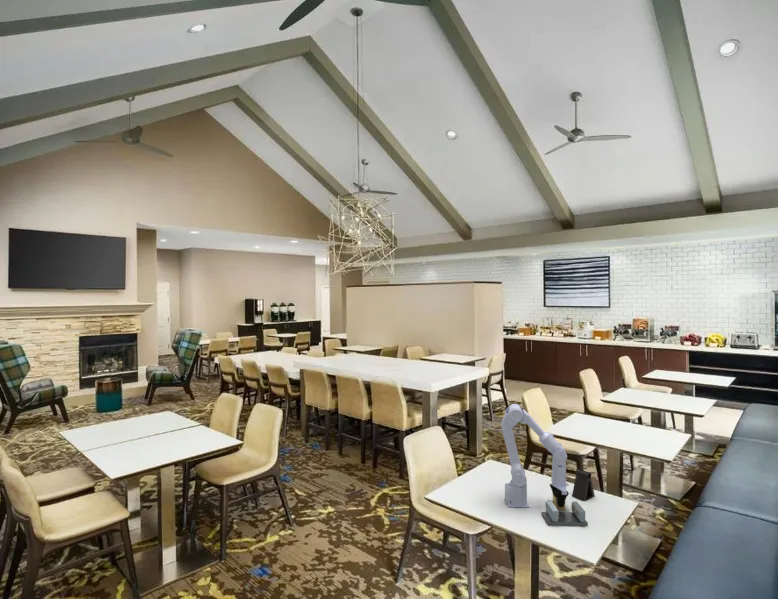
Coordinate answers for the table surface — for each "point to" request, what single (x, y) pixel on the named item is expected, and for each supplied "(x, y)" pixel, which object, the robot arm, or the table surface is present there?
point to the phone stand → (583, 486)
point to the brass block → (557, 503)
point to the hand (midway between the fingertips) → (558, 504)
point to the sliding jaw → (552, 511)
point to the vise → (568, 517)
